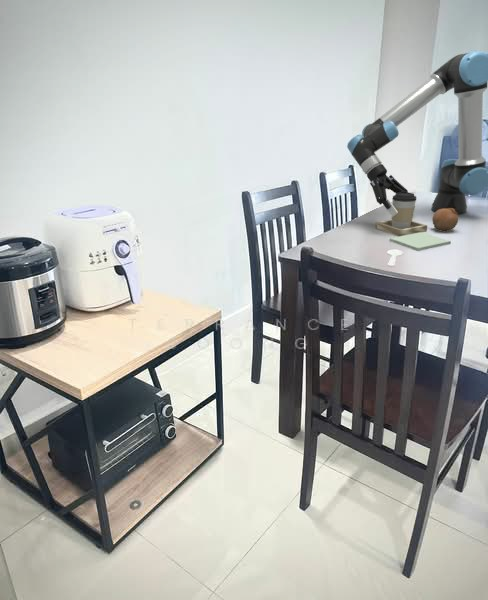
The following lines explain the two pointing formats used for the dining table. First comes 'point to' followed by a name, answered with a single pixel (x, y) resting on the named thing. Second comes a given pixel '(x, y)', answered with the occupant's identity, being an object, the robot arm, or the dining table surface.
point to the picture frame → (413, 229)
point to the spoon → (393, 256)
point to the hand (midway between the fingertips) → (403, 211)
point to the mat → (420, 241)
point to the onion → (445, 219)
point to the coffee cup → (403, 209)
